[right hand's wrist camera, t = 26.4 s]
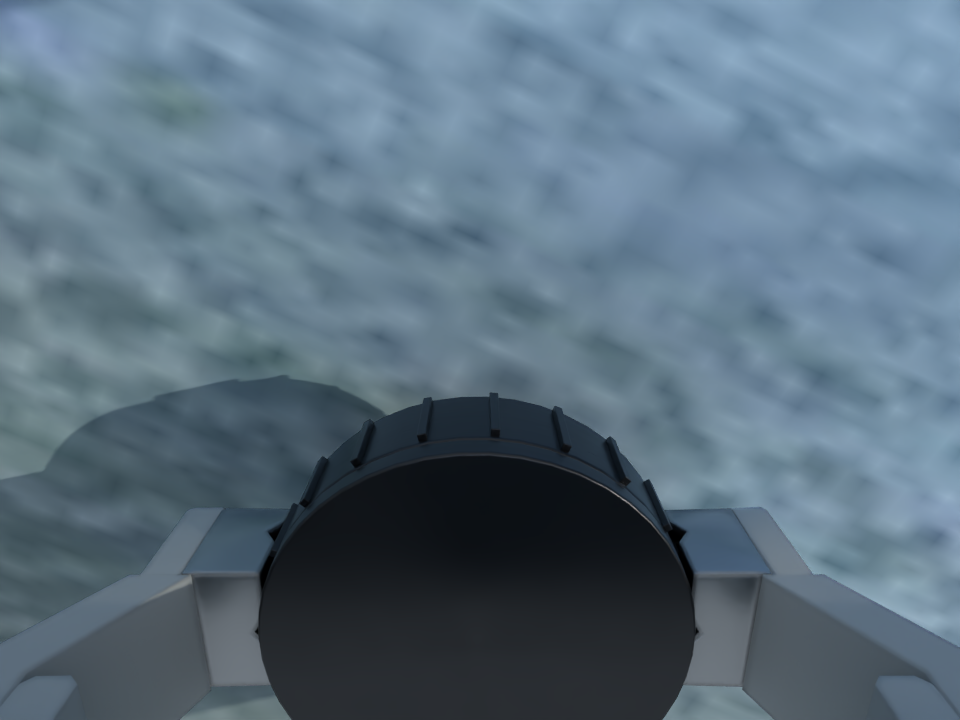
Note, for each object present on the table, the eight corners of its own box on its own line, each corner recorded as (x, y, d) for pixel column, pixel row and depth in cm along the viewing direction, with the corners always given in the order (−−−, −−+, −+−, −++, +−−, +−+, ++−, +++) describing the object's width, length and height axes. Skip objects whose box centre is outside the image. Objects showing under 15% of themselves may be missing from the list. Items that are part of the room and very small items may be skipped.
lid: (319, 718, 11) (294, 816, 10) (254, 406, 9) (209, 466, 8) (664, 698, 11) (693, 793, 9) (671, 376, 9) (709, 431, 7)
